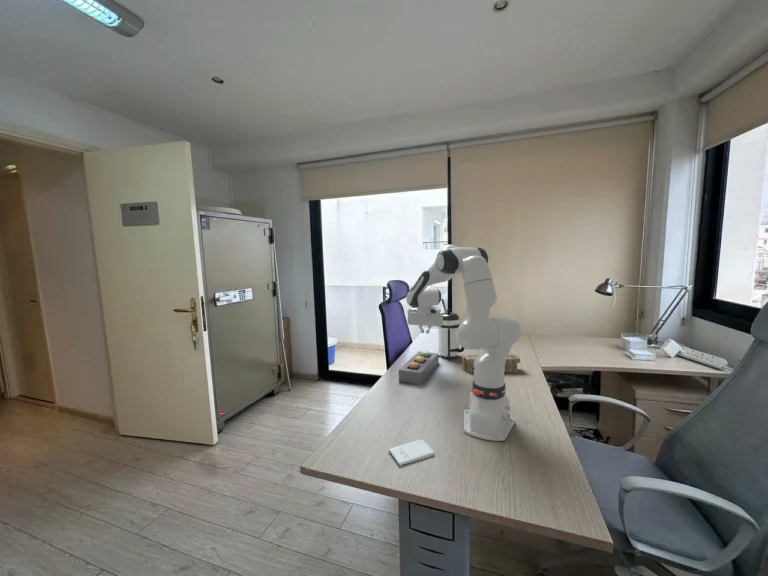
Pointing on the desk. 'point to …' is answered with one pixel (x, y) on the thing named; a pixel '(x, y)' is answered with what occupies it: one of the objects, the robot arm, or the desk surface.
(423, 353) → the sage button
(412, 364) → the brick button
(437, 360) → the button panel
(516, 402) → the desk surface
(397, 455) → the external hard drive
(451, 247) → the robot arm
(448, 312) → the coffee press
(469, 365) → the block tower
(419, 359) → the ochre button
